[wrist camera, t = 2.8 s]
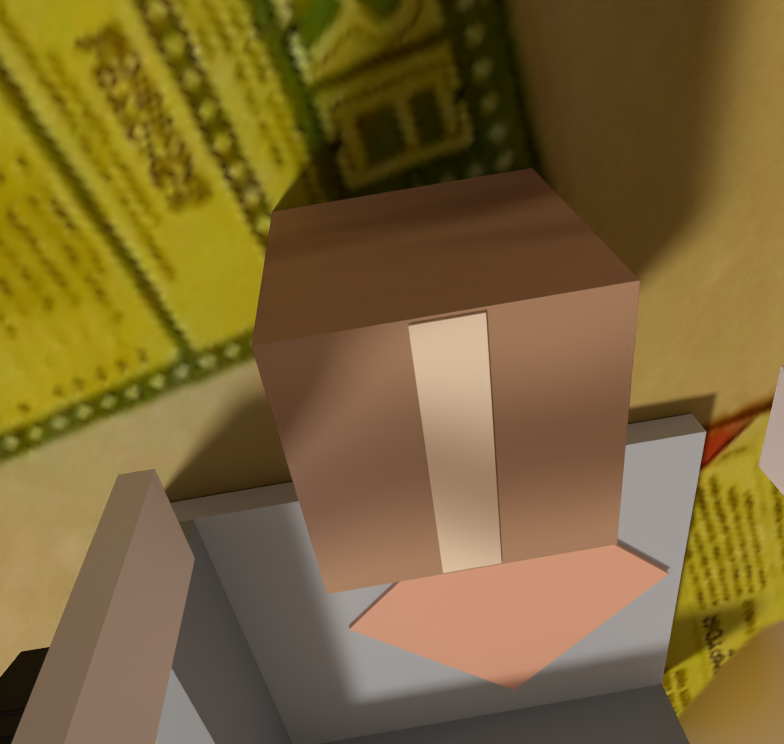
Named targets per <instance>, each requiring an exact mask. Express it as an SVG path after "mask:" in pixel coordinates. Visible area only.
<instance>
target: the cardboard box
mask: <svg viewBox="0 0 784 744" xmlns="http://www.w3.org/2000/svg"><path fill="white" fill-rule="evenodd" d="M639 288H640V280H639V279H638V278H637V277H636V276H635V275H634V273H633V272H632V271H631V270H630V269H629V268H628V267H627V266H626V265H625V264H624V263H623V262H622V261H621V260H620V259H619V258H618V257H617V256H616V255H615V254H614V253H613V252H612V251H611V250H610V248H609V247H608V246H607V245H606V244H605V243H604V242H603V241H602V240H601V239H600V238H599V237H598V236H597V235H596V234H595V233H594V232H593V231H592V230H591V229H590V228H589V227H588V226H587V225H586V223H585V222H584V221H583V220H582V219H581V218H580V217H579V216H578V215H577V214H576V213H575V212H574V211H573V210H572V209H571V208H570V207H569V206H568V205H567V204H566V203H565V202H564V201H563V200H562V198H561V197H560V196H559V195H558V194H557V193H556V192H555V191H554V190H553V189H552V188H551V187H550V186H549V185H548V184H547V183H546V182H545V181H544V180H543V179H542V178H541V177H540V176H539V175H538V174H537V172H536V171H535V170H534V169H533V168H528V169H522V170H516V171H510V172H504V173H498V174H492V175H486V176H480V177H474V178H468V179H462V180H456V181H450V182H444V183H438V184H432V185H427V186H421V187H415V188H409V189H403V190H397V191H391V192H385V193H379V194H373V195H367V196H361V197H355V198H349V199H343V200H337V201H331V202H325V203H319V204H313V205H308V206H302V207H296V208H290V209H284V210H278V211H272V217H271V224H270V230H269V236H268V243H267V249H266V256H265V262H264V269H263V275H262V282H261V288H260V295H259V301H258V308H257V314H256V321H255V327H254V334H253V340H252V349H253V353H254V356H255V359H256V363H257V366H258V369H259V372H260V376H261V379H262V382H263V386H264V389H265V392H266V395H267V399H268V402H269V405H270V409H271V412H272V415H273V418H274V422H275V425H276V428H277V432H278V435H279V438H280V441H281V445H282V448H283V451H284V455H285V458H286V461H287V464H288V468H289V471H290V474H291V478H292V481H293V484H294V487H295V491H296V494H297V497H298V501H299V504H300V507H301V510H302V514H303V517H304V520H305V524H306V527H307V530H308V533H309V537H310V540H311V543H312V547H313V550H314V553H315V556H316V560H317V563H318V566H319V569H320V573H321V576H322V579H323V583H324V586H325V589H326V592H327V594H331V593H337V592H343V591H348V590H354V589H360V588H366V587H372V586H377V585H383V584H389V583H395V582H401V581H406V580H412V579H418V578H424V577H430V576H436V575H441V574H447V573H453V572H459V571H465V570H470V569H476V568H482V567H488V566H494V565H499V564H505V563H511V562H517V561H523V560H528V559H534V558H540V557H546V556H552V555H557V554H563V553H569V552H575V551H581V550H587V549H592V548H598V547H604V546H610V545H616V544H617V540H618V529H619V517H620V506H621V494H622V483H623V472H624V460H625V449H626V437H627V426H628V414H629V403H630V391H631V380H632V368H633V357H634V345H635V334H636V322H637V311H638V299H639Z"/></svg>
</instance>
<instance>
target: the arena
mask: <svg viewBox="0 0 784 744" xmlns="http://www.w3.org/2000/svg"><path fill="white" fill-rule="evenodd" d="M705 437H706V430H705V429H704V428H703V427H702V425H701V424H700V423H699V422H698V420H697V419H696V418H695V417H694V415H693V414H686V415H680V416H674V417H668V418H663V419H657V420H651V421H645V422H639V423H633V424H628V426H627V437H626V449H625V460H624V472H623V483H622V494H621V506H620V517H619V529H618V540H617V544H616V545H610V546H604V547H598V548H592V549H587V550H581V551H575V552H569V553H563V554H557V555H552V556H546V557H540V558H534V559H528V560H523V561H517V562H511V563H505V564H499V565H494V566H488V567H482V568H476V569H470V570H465V571H459V572H453V573H447V574H441V575H436V576H430V577H424V578H418V579H412V580H406V581H401V582H395V583H389V584H383V585H377V586H372V587H366V588H360V589H354V590H348V591H343V592H337V593H331V594H327V592H326V589H325V586H324V583H323V579H322V576H321V573H320V569H319V566H318V563H317V560H316V556H315V553H314V550H313V547H312V543H311V540H310V537H309V533H308V530H307V527H306V524H305V520H304V517H303V514H302V510H301V507H300V504H299V501H298V497H297V494H296V491H295V487H294V484H293V482H288V483H283V484H277V485H271V486H265V487H259V488H253V489H247V490H242V491H236V492H230V493H224V494H218V495H212V496H207V497H201V498H195V499H189V500H183V501H177V502H171V503H170V504H171V506H172V509H173V511H174V513H175V515H176V518H177V520H178V522H179V524H180V526H181V529H182V531H183V533H184V535H185V538H186V540H187V542H188V544H189V546H190V549H191V551H192V553H193V555H194V558H195V560H194V565H193V570H192V574H191V579H190V584H189V588H188V593H187V597H186V602H185V607H184V611H183V616H182V621H181V625H180V630H179V635H178V639H177V644H176V649H175V653H174V658H173V663H172V667H171V672H170V677H169V681H168V686H167V690H166V695H165V700H164V704H163V709H162V714H161V718H160V723H159V728H158V732H157V737H156V741H157V743H158V744H690V743H689V741H688V739H687V737H686V735H685V733H684V731H683V728H682V726H681V725H680V722H679V720H678V718H677V716H676V713H675V711H674V709H673V707H672V705H671V703H670V701H669V698H668V696H667V694H666V692H665V690H664V688H663V686H662V680H663V674H664V669H665V663H666V657H667V652H668V646H669V640H670V635H671V629H672V623H673V618H674V612H675V606H676V601H677V595H678V589H679V584H680V578H681V572H682V567H683V561H684V555H685V550H686V544H687V538H688V533H689V527H690V522H691V516H692V510H693V505H694V499H695V493H696V488H697V482H698V476H699V471H700V465H701V459H702V454H703V448H704V442H705Z"/></svg>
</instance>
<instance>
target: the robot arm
mask: <svg viewBox="0 0 784 744" xmlns="http://www.w3.org/2000/svg"><path fill="white" fill-rule="evenodd" d="M759 467H760V468H761V469H762V471H763V472H764V473H765V474H766V475H767V477H768V478H769V479H770V480H771V481H772V482H773V484H774V485H775V486H776V487H777V488H778V489H779V491H780V492H781V493H782V494H783V495H784V366H781V369H780V374H779V378H778V383H777V387H776V392H775V396H774V400H773V405H772V409H771V414H770V418H769V422H768V427H767V431H766V436H765V440H764V444H763V449H762V453H761V458H760V462H759ZM194 560H195V558H194V555H193V553H192V551H191V549H190V546H189V544H188V542H187V540H186V538H185V535H184V533H183V531H182V529H181V526H180V524H179V522H178V520H177V518H176V515H175V513H174V511H173V509H172V506H171V504H170V502H169V500H168V497H167V495H166V493H165V491H164V489H163V486H162V484H161V482H160V480H159V477H158V475H157V473H156V471H155V469H151V470H145V471H139V472H133V473H127V474H121V475H118V477H117V479H116V482H115V484H114V487H113V489H112V492H111V494H110V497H109V499H108V502H107V504H106V507H105V509H104V512H103V514H102V517H101V519H100V522H99V524H98V527H97V529H96V532H95V534H94V537H93V540H92V542H91V545H90V547H89V550H88V552H87V555H86V557H85V560H84V562H83V565H82V567H81V570H80V572H79V575H78V577H77V580H76V582H75V585H74V587H73V590H72V592H71V595H70V597H69V600H68V602H67V605H66V607H65V610H64V612H63V615H62V617H61V620H60V622H59V625H58V628H57V630H56V633H55V635H54V638H53V640H52V643H51V645H50V647H47V648H41V649H35V650H29V651H23V652H21V653H20V654H19V655H18V656H17V657H16V659H15V660H14V661H13V662H12V664H11V665H10V666H9V667H8V668H7V670H6V671H5V672H4V673H3V675H2V676H1V677H0V744H155V742H156V737H157V732H158V728H159V723H160V718H161V714H162V709H163V704H164V700H165V695H166V690H167V686H168V681H169V677H170V672H171V667H172V663H173V658H174V653H175V649H176V644H177V639H178V635H179V630H180V625H181V621H182V616H183V611H184V607H185V602H186V597H187V593H188V588H189V584H190V579H191V574H192V570H193V565H194Z"/></svg>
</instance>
